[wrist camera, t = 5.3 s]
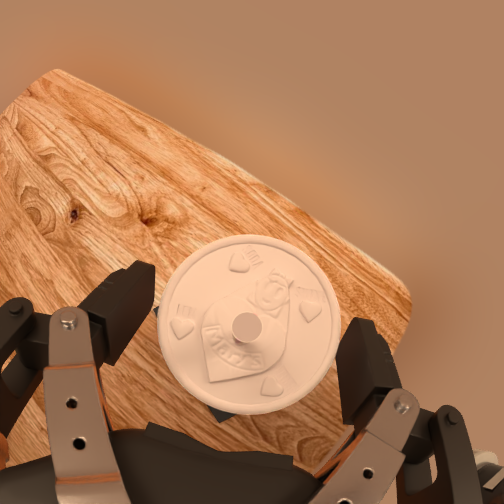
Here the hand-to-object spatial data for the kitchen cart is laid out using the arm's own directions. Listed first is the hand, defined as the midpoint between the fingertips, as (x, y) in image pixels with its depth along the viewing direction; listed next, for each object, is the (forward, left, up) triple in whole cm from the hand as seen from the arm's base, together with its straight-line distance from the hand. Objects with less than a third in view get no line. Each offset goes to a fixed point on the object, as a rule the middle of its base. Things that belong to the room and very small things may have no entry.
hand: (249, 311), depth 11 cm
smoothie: (0, 0, -8) cm, 8 cm away
